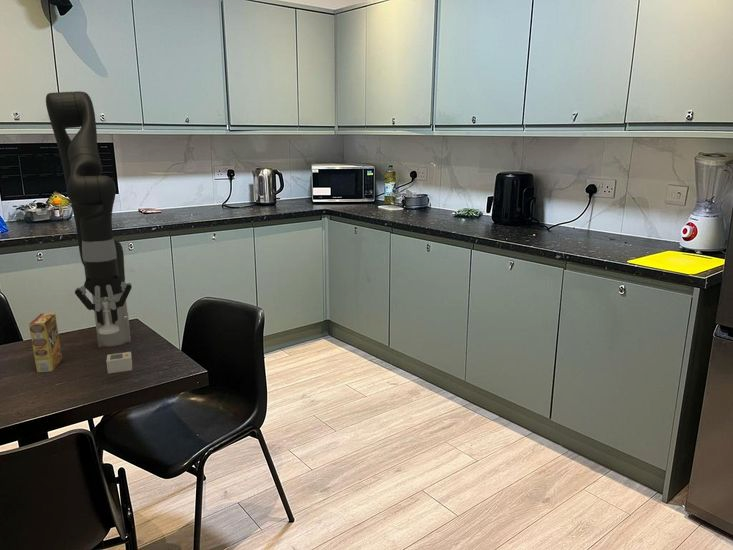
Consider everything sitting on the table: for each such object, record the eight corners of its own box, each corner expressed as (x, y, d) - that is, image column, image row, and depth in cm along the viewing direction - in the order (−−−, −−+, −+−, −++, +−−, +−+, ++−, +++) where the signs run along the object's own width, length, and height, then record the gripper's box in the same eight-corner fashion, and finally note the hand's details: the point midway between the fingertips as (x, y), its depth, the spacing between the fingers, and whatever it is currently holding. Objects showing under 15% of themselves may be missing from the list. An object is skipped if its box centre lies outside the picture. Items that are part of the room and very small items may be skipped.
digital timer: (132, 363, 153) (130, 350, 152) (132, 370, 148) (130, 357, 148) (108, 366, 151) (107, 354, 150) (107, 373, 146) (106, 360, 145)
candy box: (53, 375, 148) (45, 322, 145) (36, 377, 147) (28, 323, 144) (63, 363, 157) (56, 312, 153) (47, 364, 156) (39, 313, 152)
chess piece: (115, 326, 144) (110, 290, 141) (122, 331, 140) (118, 293, 138) (95, 331, 140) (90, 293, 138) (102, 335, 137) (97, 297, 134)
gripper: (130, 252, 141) (137, 316, 146) (70, 256, 136) (79, 322, 141) (130, 258, 135) (137, 324, 139) (67, 262, 130) (76, 331, 134)
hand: (108, 323), depth 140 cm, fingers closed on chess piece
